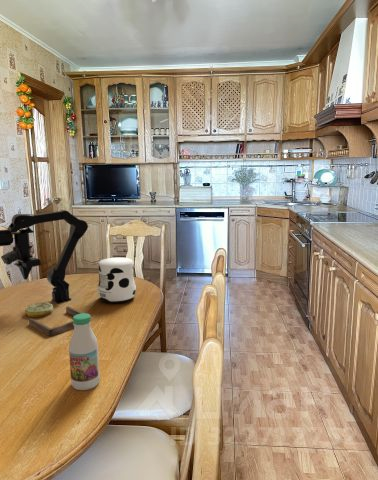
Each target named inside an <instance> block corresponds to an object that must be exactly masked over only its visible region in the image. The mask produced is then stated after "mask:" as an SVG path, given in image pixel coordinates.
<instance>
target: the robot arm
mask: <svg viewBox="0 0 378 480" xmlns="http://www.w3.org/2000/svg"><path fill="white" fill-rule="evenodd" d="M62 220H63V221H65V222H66V223H67V224H68V225H70V226H69V232H68V233H69V235H68V238H67V240H66V242H65V245H64V246H63V248H62V252H61V253H60V256H59V257H58V260H57V262H56V263H55V265H54V266H53V267H52V266H49V269H48V271H47V273H46V280H47V282H48V283H49V284H50V285H51V286H53V287H52V291H51V298H52V299H51V301H52V302H55V303H57V304H63V303H65V302H68V301H71V300H72V298H70V290H69V289H70V283H68V282H67V281H66V280H65V278H66V272H67V271H66V269H67V267H68V265H69V262H70V261H71V259H72V255H73V254H74V251H75V249H76V246H77V244H78V242H79V241H80V240H81V238H82V237H83V236H84V235H85V233H86V232H87V230H88V228H89V225H88V222H87V221H85V220H83V219H80V218H78V217H77V216H75V215H73V214H72V213H71V212H69V211H68V210H66V209H62V210H58V211H50V212H43V213H34V214H28V213H26V214H25V213H16V214H14V215H13V216H12V218H11V222H10V224H9V226H8V227H7V229H0V247H6V246H11V245H12V244H13V243H14V246H13V247H12V250H11V251H9V252H7V253H5V254H2V256H0V259H1V260H2V262H3V263H4V264H5V265H11V264H12V263H13V265H14V266H16V267H17V268H18V269H19V271H20V273H21V275H22V278H23V280H24V281H25V280H28V278H29V275H30V273H31V271H32V269H33V268H35V267H38V266H42V260H41V259H39V258H37V257H33V256H34V255H32V254H31V249H33V246H32V245H30V234H33V233H34V230H32V229H31V228H30V227H32V226H34V225H37V224H41V223H42V224H43V223H48V222H49V223H50V222H55V221H62ZM14 262H15V263H14Z"/></svg>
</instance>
